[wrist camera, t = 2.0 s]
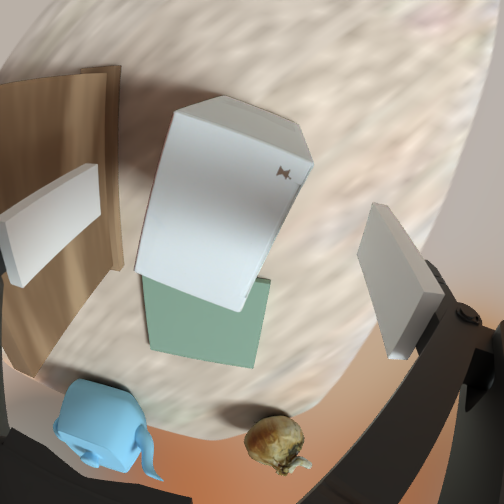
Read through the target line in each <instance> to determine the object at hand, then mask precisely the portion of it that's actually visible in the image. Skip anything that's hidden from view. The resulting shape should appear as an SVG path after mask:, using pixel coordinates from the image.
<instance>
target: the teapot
mask: <svg viewBox="0 0 504 504" xmlns="http://www.w3.org/2000/svg"><path fill="white" fill-rule="evenodd" d="M53 430H54V432H55V434H56V436H57V437H58V438H59V439H60V440H61V441H64V442H66V444H67V445H68V446H69V447H70V448H71V449H72V450H73V451H74V452H75V453H76V454H78V455H79V456H80V459H81V460H82V461H83V462H84V463H86V464H87V465H89V466H92V467H95V468H98V467H99V465H101V466H104V467H107V468H110V469H113V470H116V471H120V472H124V473H126V472H128V471H129V469H130V468H131V466H132V465H133V463H134V462H135V461H136V459H137V457H138V456H139V454H140V452H142V468H143V470H144V472H145V473H146V474H147V475H149V476H150V477H152V478H155V479H157V480H160V481H163V479H161V478H160V477H159V476H158V475H157V474H156V472H155V470H154V467H153V453H154V445H153V440H152V437H151V435H150V433H149V432H148V431H147V425H146V419H145V415H144V413H143V411H142V409H141V407H140V406H139V404H138V402H137V401H136V399H135V398H134V397H133V396H132V395H131V394H130V393H128V392H126V391H123V390H119V389H116V388H113V387H109V386H106V385H103V384H99V383H95V382H92V381H88V380H84V379H77V380H76V381H74V382H73V383H72V384H71V385H70V386H69V388H68V390H67V392H66V394H65V397H64V400H63V403H62V407H61V410H60V415H59V417H58V418H57V419H56V420H55V422H54V424H53Z"/></svg>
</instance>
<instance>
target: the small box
mask: <svg viewBox="0 0 504 504" xmlns="http://www.w3.org/2000/svg"><path fill="white" fill-rule="evenodd" d="M313 166H314V162H313V159H312V156H311V154H310V151H309V148H308V146H307V143H306V141H305V138H304V136H303V133H302V130H301V128H300V125H299V124H297V123H294V122H292V121H290V120H287V119H285V118H283V117H280V116H278V115H275V114H273V113H271V112H268V111H266V110H263V109H260V108H258V107H255V106H253V105H250V104H247V103H245V102H242V101H239V100H237V99H234V98H231V97H228V96H225V95H223V96H219V97H216V98H212V99H209V100H206V101H203V102H200V103H196V104H193V105H190V106H187V107H184V108H181V109H178V110H176V111H174V112H173V115H172V119H171V122H170V125H169V128H168V131H167V135H166V138H165V141H164V145H163V148H162V152H161V155H160V159H159V162H158V166H157V170H156V174H155V177H154V181H153V185H152V189H151V193H150V197H149V201H148V205H147V209H146V214H145V218H144V223H143V227H142V232H141V236H140V241H139V246H138V251H137V256H136V261H135V266H134V271H135V272H136V273H139V274H141V275H143V276H146V277H148V278H150V279H153V280H155V281H157V282H160V283H162V284H165V285H167V286H170V287H172V288H175V289H177V290H180V291H182V292H185V293H187V294H190V295H193V296H195V297H198V298H200V299H203V300H206V301H208V302H211V303H214V304H216V305H219V306H222V307H224V308H227V309H230V310H232V311H235V312H241V310H242V309H243V306H244V304H245V301H246V299H247V297H248V294H249V292H250V290H251V288H252V286H253V283H254V281H255V279H256V277H257V275H258V273H259V271H260V269H261V267H262V265H263V263H264V261H265V259H266V257H267V255H268V253H269V251H270V249H271V247H272V245H273V243H274V241H275V239H276V237H277V235H278V233H279V231H280V229H281V227H282V225H283V223H284V221H285V219H286V217H287V215H288V213H289V210H290V209H291V207H292V205H293V203H294V201H295V199H296V197H297V195H298V193H299V191H300V190H301V188H302V186H303V184H304V183H305V181H306V179H307V177H308V175H309V173H310V172H311V170H312V168H313Z"/></svg>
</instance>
